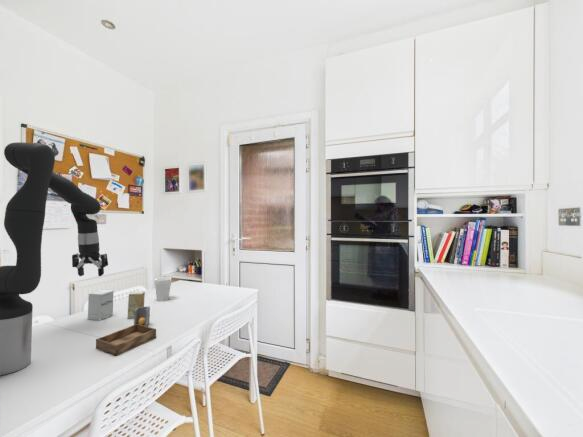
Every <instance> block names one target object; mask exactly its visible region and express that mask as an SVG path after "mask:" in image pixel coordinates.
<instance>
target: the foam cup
mask: <svg viewBox="0 0 583 437" xmlns="http://www.w3.org/2000/svg"><path fill="white" fill-rule="evenodd" d="M171 285H172V277H171V276H162V277H160V276H159V277H156V278H154V287H155V296H156V301H157V302H166V301H168V300H169V297H170V292H171ZM165 300H166V301H165Z"/></svg>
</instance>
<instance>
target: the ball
mask: <svg viewBox="0 0 583 437" xmlns="http://www.w3.org/2000/svg"><path fill="white" fill-rule="evenodd" d="M138 324H140V325H143V324H145V318H140V319H139V320H138Z"/></svg>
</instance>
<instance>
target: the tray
mask: <svg viewBox="0 0 583 437" xmlns="http://www.w3.org/2000/svg"><path fill="white" fill-rule="evenodd" d="M156 338H157V328H154V327H150V326H143V325H140V324H136V325H134V324H133V325H131V326H128V327H124V328H123V329H120V330H117V331H115V332H112V333H110V334H106V335H104V336H102V337H101V336H100V337H99V338H96V339H95V350H99V351H101V352H104V353H107V354H108V355H109V354H110V355H112V356H115V357H117V356H119V355H122V354H123V353H125V352H128V351H129V350H132V349H134V348H136V347H138V346H141V345H143V344H145V343H147V342H149V341H151V340H154V339H156Z"/></svg>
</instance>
